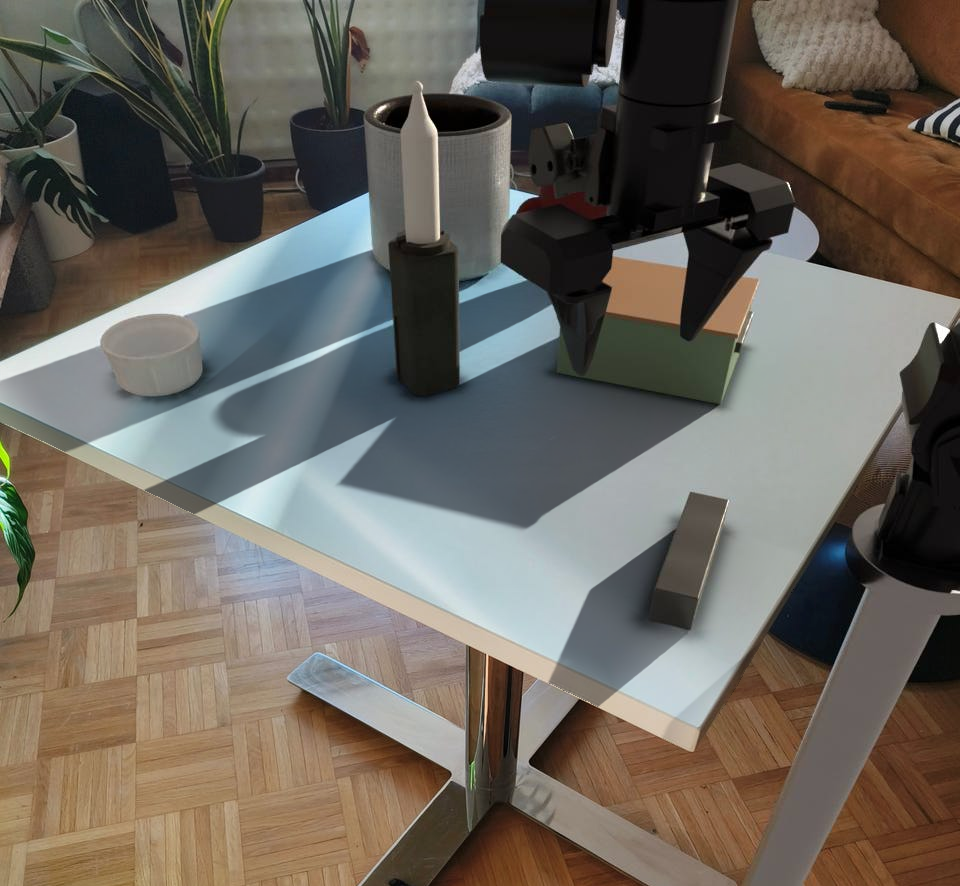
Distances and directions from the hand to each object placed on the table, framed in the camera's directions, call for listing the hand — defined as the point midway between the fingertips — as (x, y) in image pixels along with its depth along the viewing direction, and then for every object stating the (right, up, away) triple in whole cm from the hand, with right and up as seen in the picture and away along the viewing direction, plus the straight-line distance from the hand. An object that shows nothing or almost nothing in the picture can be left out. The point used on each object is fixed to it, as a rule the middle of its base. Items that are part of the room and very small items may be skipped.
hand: (634, 355), depth 60 cm
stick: (+5, -14, +6) cm, 16 cm away
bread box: (+7, +9, +29) cm, 31 cm away
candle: (-15, +6, +25) cm, 30 cm away
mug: (-1, +23, +43) cm, 48 cm away
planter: (-15, +26, +46) cm, 55 cm away
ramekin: (-41, +6, +25) cm, 49 cm away
